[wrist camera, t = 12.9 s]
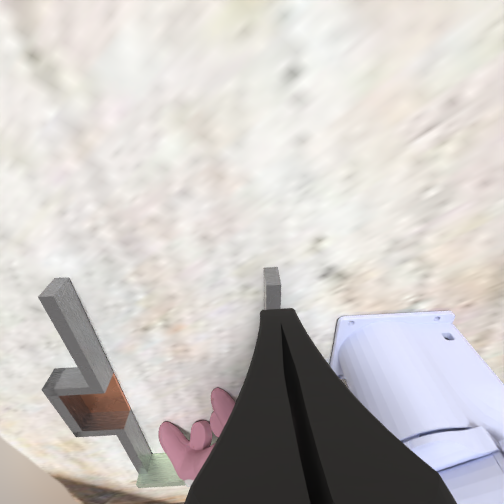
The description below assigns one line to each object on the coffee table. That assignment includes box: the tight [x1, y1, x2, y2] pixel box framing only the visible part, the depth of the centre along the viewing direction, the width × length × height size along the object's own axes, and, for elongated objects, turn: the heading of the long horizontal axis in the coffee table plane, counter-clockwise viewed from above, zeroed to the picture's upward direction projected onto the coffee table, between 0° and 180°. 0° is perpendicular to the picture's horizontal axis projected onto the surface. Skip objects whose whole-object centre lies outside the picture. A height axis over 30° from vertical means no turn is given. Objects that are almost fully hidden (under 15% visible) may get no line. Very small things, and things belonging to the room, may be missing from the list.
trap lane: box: [38, 267, 281, 488], centre depth 27 cm, size 24×28×3 cm
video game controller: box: [159, 388, 235, 487], centre depth 29 cm, size 10×5×7 cm, turn 134°
